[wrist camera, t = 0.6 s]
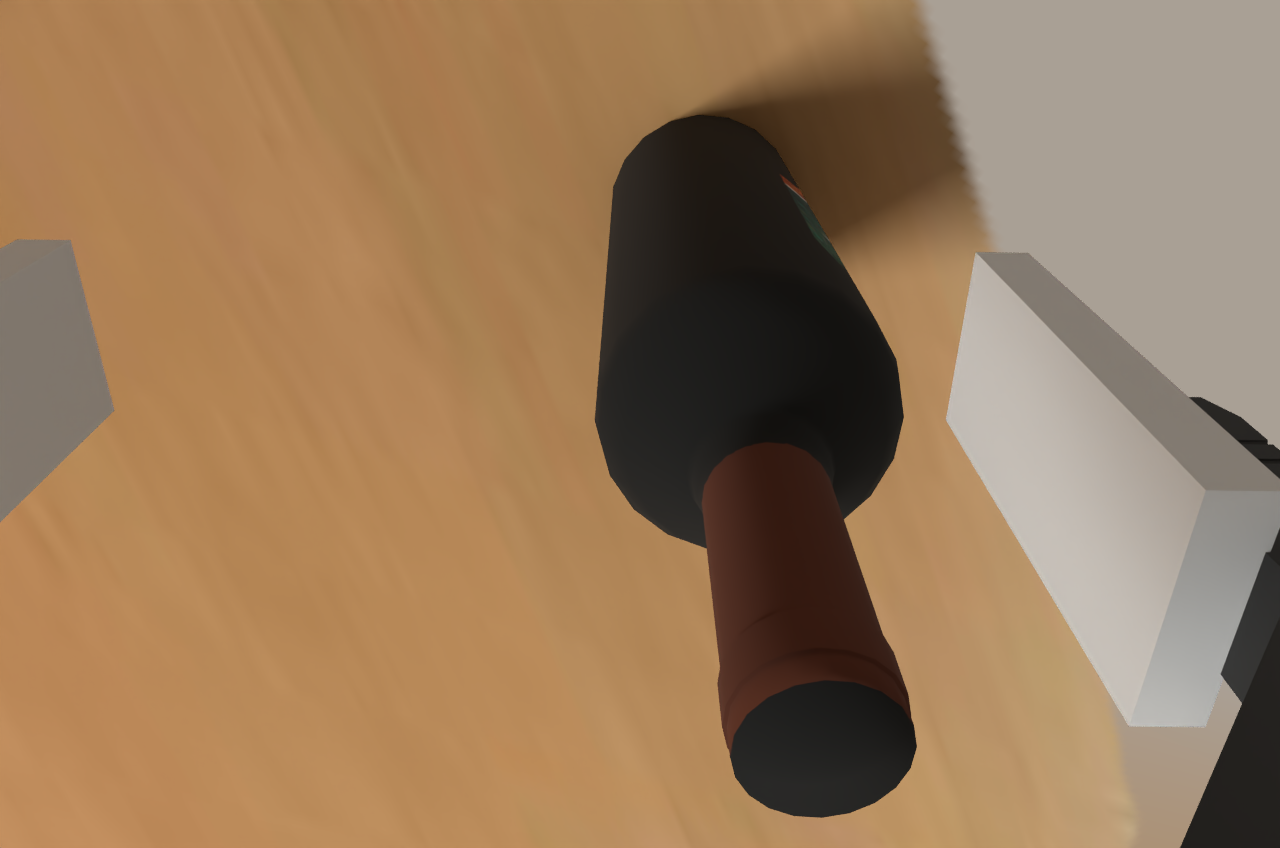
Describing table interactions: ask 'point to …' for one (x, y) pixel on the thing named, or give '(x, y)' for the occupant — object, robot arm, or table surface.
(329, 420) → the table surface
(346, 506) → the table surface
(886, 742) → the wine bottle
